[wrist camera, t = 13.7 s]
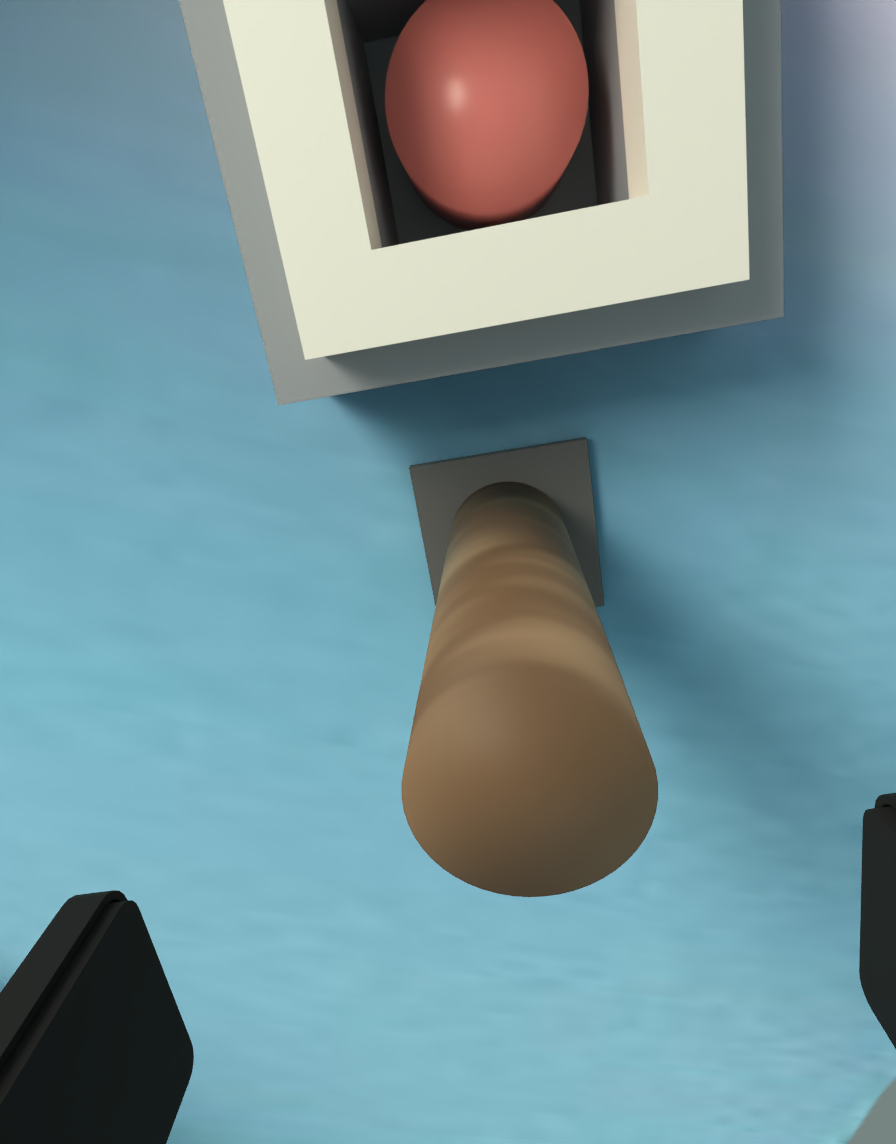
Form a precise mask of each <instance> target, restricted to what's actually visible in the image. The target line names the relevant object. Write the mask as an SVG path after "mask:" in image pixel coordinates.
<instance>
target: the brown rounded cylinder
mask: <svg viewBox="0 0 896 1144" xmlns="http://www.w3.org/2000/svg"><path fill="white" fill-rule="evenodd" d="M657 801H658V781H657V776H656V770H655V767H654V764H653V761H652V758H651V755H650V752H649V749H648V747H647V744H646V741H645V739H644V736H643V733H642V731H641V728H640V725H639V723H638V720H637V717H636V715H635V712H634V709H633V706H632V704H631V701H630V698H629V696H628V693H627V690H626V688H625V685H624V682H623V680H622V677H621V674H620V672H619V669H618V666H617V663H616V661H615V658H614V655H613V653H612V650H611V647H610V645H609V642H608V639H607V637H606V634H605V631H604V629H603V626H602V623H601V620H600V618H599V615H598V612H597V610H596V607H595V604H594V602H593V599H592V596H591V594H590V591H589V588H588V586H587V583H586V580H585V577H584V575H583V572H582V569H581V567H580V564H579V561H578V559H577V556H576V553H575V551H574V548H573V545H572V542H571V540H570V537H569V534H568V532H567V529H566V526H565V524H564V521H563V518H562V516H561V514H560V512H559V510H558V508H557V506H556V505H555V504H554V502H553V501H552V500H551V499H550V498H549V497H548V496H547V495H546V494H544V493H543V492H542V491H540V490H538V489H537V488H535V487H532V486H530V485H527V484H524V483H519V482H509V481H506V482H498V483H493V484H490V485H487V486H484V487H483V488H481V489H479V490H477V491H476V492H474V493H473V494H471V495H470V496H469V497H468V498H467V499H466V500H465V501H464V502H463V503H462V505H461V506H460V508H459V509H458V511H457V513H456V515H455V517H454V520H453V523H452V527H451V532H450V537H449V542H448V547H447V552H446V558H445V563H444V568H443V573H442V578H441V583H440V588H439V593H438V598H437V603H436V608H435V614H434V619H433V624H432V629H431V634H430V639H429V644H428V649H427V654H426V659H425V665H424V670H423V675H422V680H421V685H420V690H419V695H418V700H417V705H416V710H415V716H414V721H413V726H412V731H411V736H410V741H409V746H408V751H407V756H406V761H405V766H404V772H403V778H402V802H403V808H404V812H405V816H406V819H407V822H408V825H409V827H410V829H411V831H412V833H413V835H414V837H415V838H416V840H417V841H418V843H419V844H420V846H421V847H422V848H423V849H424V851H425V852H426V853H427V854H428V855H429V856H430V857H431V858H432V859H433V860H434V861H435V862H436V863H437V864H438V865H440V866H441V867H442V868H443V869H445V870H446V871H447V872H449V873H450V874H452V875H453V876H455V877H457V878H459V879H460V880H462V881H464V882H466V883H468V884H471V885H473V886H476V887H478V888H481V889H484V890H487V891H491V892H494V893H499V894H505V895H511V896H522V897H539V896H550V895H557V894H562V893H566V892H570V891H574V890H577V889H580V888H583V887H585V886H588V885H591V884H593V883H595V882H597V881H599V880H601V879H603V878H604V877H606V876H607V875H609V874H610V873H612V872H613V871H615V870H616V869H618V868H619V867H620V866H621V865H622V864H623V863H625V862H626V861H627V860H628V859H629V858H630V857H631V856H632V855H633V853H634V852H635V851H636V850H637V849H638V848H639V846H640V845H641V843H642V842H643V840H644V839H645V837H646V835H647V833H648V831H649V829H650V827H651V825H652V822H653V819H654V816H655V813H656V807H657Z"/></svg>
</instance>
